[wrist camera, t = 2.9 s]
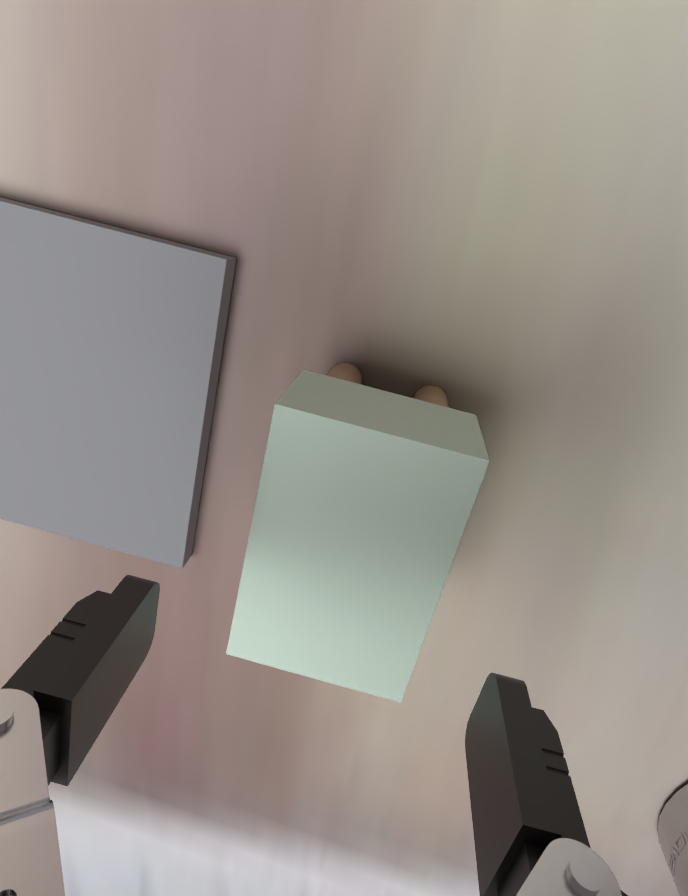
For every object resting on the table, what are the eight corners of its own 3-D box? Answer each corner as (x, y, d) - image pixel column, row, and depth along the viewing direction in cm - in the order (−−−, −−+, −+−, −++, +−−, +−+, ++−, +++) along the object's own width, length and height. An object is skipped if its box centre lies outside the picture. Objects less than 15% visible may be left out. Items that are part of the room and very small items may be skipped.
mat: (236, 257, 22) (226, 259, 21) (191, 554, 27) (182, 568, 26) (-104, 170, 22) (-131, 167, 21) (-82, 479, 28) (-103, 490, 27)
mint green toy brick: (466, 383, 23) (489, 461, 15) (406, 567, 26) (400, 702, 19) (322, 346, 23) (274, 403, 15) (280, 533, 26) (226, 653, 19)
